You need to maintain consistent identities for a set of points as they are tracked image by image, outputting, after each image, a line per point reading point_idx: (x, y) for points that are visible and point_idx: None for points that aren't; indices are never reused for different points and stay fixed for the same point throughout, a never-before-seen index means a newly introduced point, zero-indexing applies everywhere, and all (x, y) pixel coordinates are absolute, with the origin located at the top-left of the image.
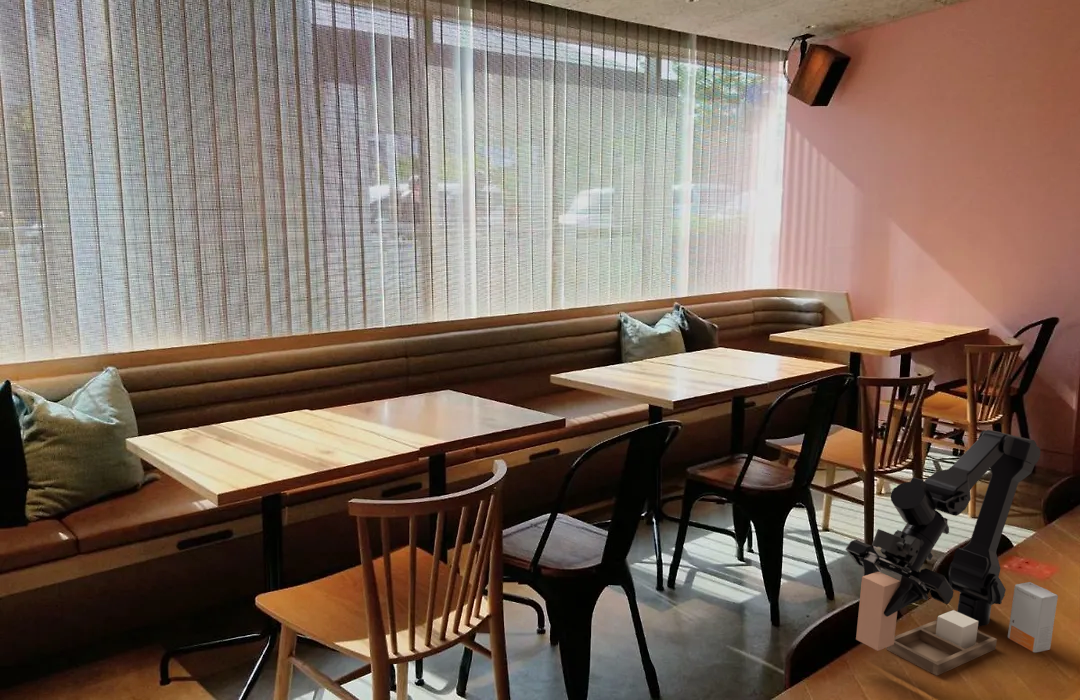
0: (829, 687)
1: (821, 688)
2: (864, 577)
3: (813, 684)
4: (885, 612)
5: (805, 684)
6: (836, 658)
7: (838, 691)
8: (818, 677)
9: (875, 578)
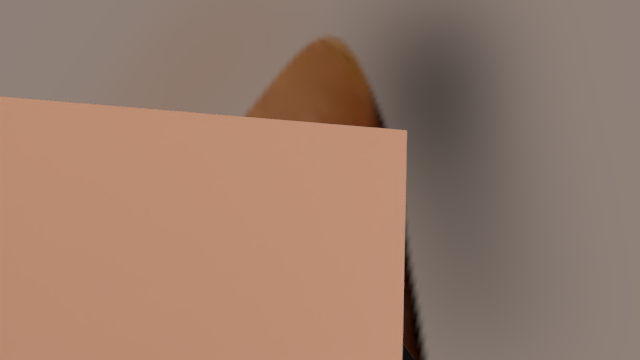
0: (287, 101)
1: (300, 74)
2: (342, 132)
3: (332, 73)
4: None
5: (348, 52)
6: (405, 309)
7: (252, 106)
8: (352, 123)
9: (130, 345)
